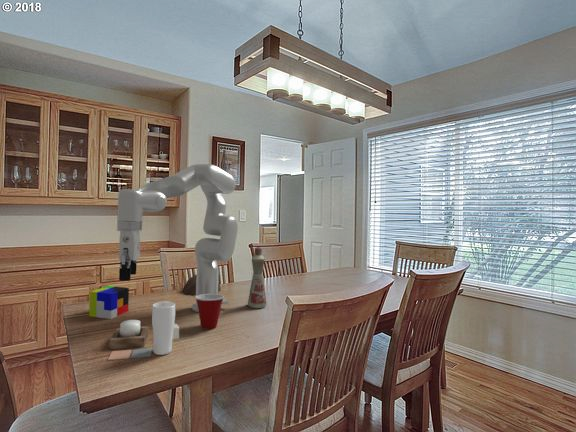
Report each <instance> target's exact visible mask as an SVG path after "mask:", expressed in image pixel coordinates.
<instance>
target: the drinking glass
mask: <svg viewBox="0 0 576 432" xmlns="http://www.w3.org/2000/svg"><path fill="white" fill-rule="evenodd" d="M151 311H152V312H151V323H152V340H153V341H152V342H153V354H155V355H157V356H163V355H164V356H165V355H167V354H169V353H171V352H172V349H173V340H172V339H173V331H174V324H176V323H175V321H176V303H175V302H174V301H167V300H166V301H158V302H155V303H153V304H152V309H151Z"/></svg>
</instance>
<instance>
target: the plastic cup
mask: <svg viewBox="0 0 576 432" xmlns="http://www.w3.org/2000/svg"><path fill="white" fill-rule="evenodd" d="M224 298H225V295H223V294H220V293H219V294H202V295H198V296H195V301H196V300H197V304H198V310H199V312H198V314H199V315H198V316H199V321H200V327H201V329H202V330H213V329H215V328H217V326H218V321H219V317H220V313H221V308H222V305H223V304H222V301H223V299H224Z"/></svg>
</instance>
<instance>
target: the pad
mask: <svg viewBox="0 0 576 432" xmlns="http://www.w3.org/2000/svg"><path fill="white" fill-rule="evenodd" d="M132 352H133V350H132V349H127V350H126V349H125V350H112V351H111V353H110V355H109V357H108V358H107V361H117V360H119V361H120V360H129V358H130V357H131V355H132Z"/></svg>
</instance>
